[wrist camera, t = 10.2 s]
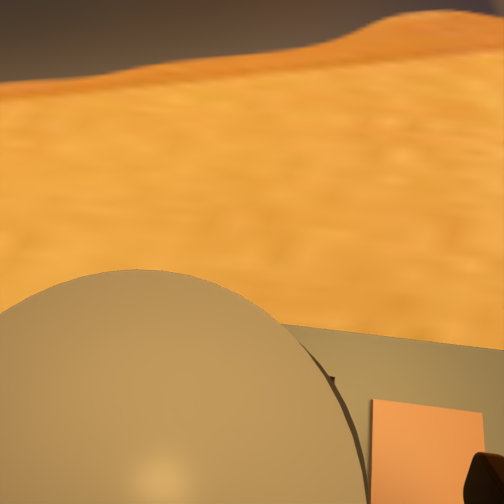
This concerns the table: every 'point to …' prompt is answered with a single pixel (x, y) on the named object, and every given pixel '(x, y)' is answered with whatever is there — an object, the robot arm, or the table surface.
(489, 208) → the table surface
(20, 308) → the grey and beige cylinder
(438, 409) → the socket plate
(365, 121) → the table surface
